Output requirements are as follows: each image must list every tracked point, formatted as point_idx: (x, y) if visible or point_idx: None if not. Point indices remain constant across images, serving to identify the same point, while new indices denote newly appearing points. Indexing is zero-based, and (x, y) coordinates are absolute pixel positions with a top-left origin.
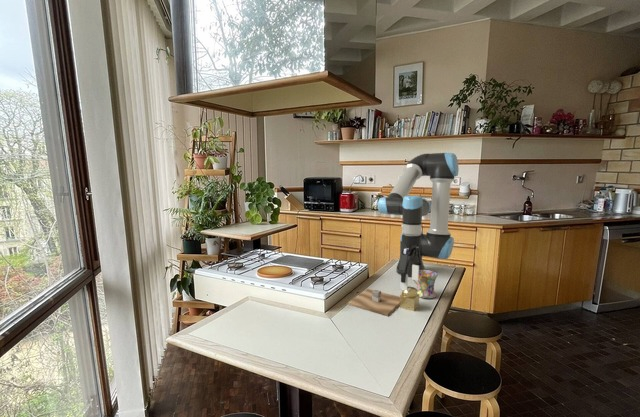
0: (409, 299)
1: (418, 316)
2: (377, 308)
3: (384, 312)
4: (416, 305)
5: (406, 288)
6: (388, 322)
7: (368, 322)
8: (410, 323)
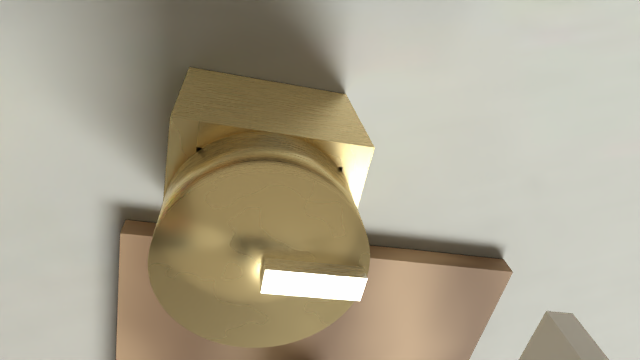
0: (355, 194)
1: (446, 35)
2: (440, 347)
3: (495, 295)
4: (272, 92)
5: (591, 343)
6: (595, 231)
7: (607, 327)
8: (594, 84)
